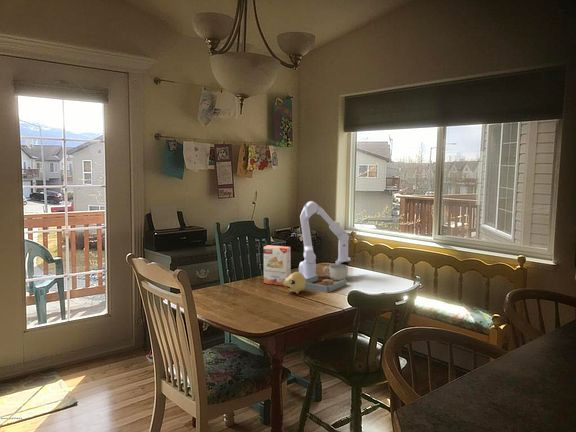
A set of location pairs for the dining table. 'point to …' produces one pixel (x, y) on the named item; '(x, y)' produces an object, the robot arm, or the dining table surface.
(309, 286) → the gray open frame
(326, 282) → the walnut block
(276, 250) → the cracker box
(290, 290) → the yellow lumpy rounded piece
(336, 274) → the teacup
